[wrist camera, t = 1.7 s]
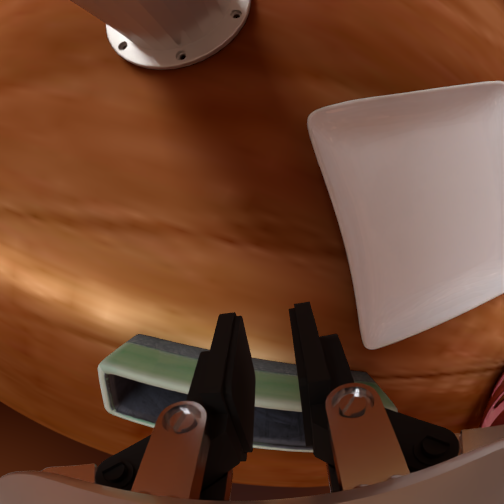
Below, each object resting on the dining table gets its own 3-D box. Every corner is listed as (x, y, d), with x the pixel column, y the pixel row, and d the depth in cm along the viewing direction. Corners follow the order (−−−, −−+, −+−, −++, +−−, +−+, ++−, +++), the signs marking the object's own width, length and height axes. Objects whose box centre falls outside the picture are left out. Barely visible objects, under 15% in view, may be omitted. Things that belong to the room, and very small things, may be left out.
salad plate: (356, 336, 28) (365, 357, 25) (296, 117, 22) (301, 112, 19) (511, 270, 25) (528, 281, 22) (487, 82, 19) (507, 79, 16)
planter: (381, 364, 29) (402, 410, 22) (356, 407, 32) (369, 452, 25) (125, 320, 28) (95, 362, 22) (127, 370, 31) (104, 413, 24)
